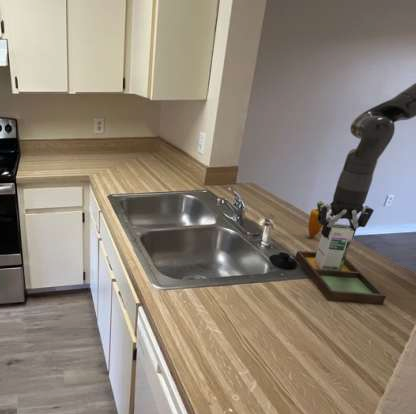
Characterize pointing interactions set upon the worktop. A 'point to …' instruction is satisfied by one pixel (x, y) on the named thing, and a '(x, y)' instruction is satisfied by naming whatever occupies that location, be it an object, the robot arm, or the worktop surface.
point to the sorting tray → (341, 281)
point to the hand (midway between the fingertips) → (336, 237)
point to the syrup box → (334, 247)
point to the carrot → (314, 221)
